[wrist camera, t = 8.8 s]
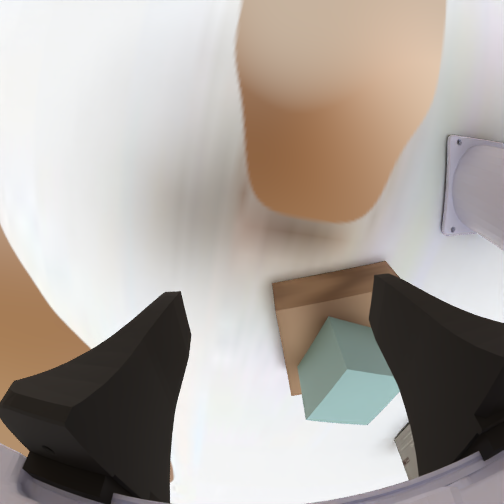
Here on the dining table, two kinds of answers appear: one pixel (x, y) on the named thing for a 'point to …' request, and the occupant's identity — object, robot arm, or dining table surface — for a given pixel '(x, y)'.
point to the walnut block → (321, 308)
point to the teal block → (345, 375)
